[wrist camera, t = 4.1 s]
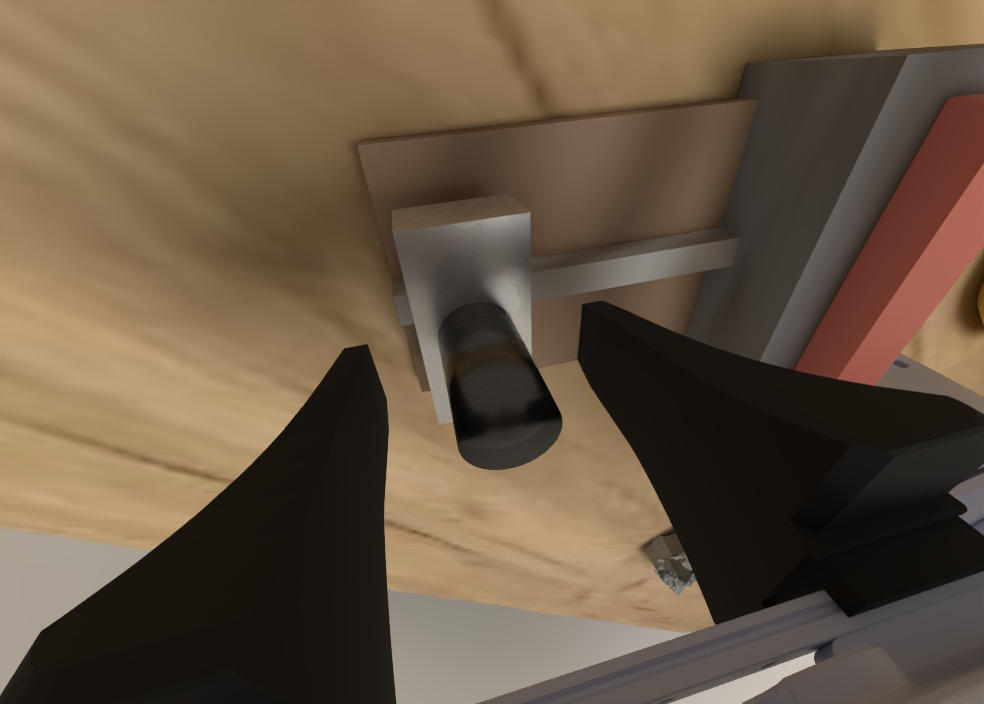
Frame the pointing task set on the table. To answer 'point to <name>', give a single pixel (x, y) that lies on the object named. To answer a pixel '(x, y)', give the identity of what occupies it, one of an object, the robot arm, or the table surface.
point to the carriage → (478, 325)
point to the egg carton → (671, 562)
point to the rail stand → (692, 197)
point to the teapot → (981, 302)
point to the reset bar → (909, 252)
